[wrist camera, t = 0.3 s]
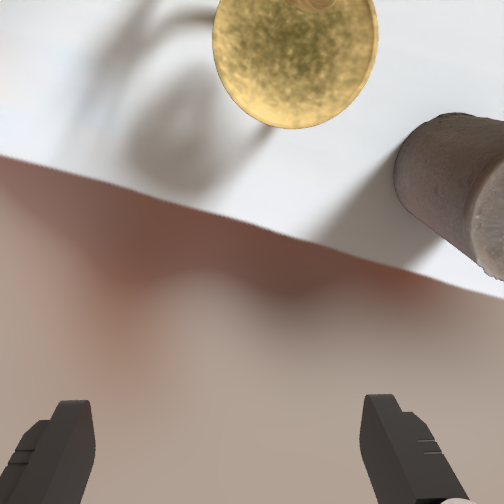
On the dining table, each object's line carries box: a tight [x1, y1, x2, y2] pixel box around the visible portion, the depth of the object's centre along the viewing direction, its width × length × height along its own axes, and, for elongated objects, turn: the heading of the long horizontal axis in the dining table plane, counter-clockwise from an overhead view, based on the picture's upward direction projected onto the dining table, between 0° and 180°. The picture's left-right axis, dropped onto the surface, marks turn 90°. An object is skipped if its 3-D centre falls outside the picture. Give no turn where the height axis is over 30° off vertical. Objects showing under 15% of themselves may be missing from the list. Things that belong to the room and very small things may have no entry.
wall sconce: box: [212, 0, 378, 129], centre depth 24 cm, size 14×10×25 cm
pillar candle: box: [394, 113, 504, 281], centre depth 33 cm, size 10×10×15 cm
